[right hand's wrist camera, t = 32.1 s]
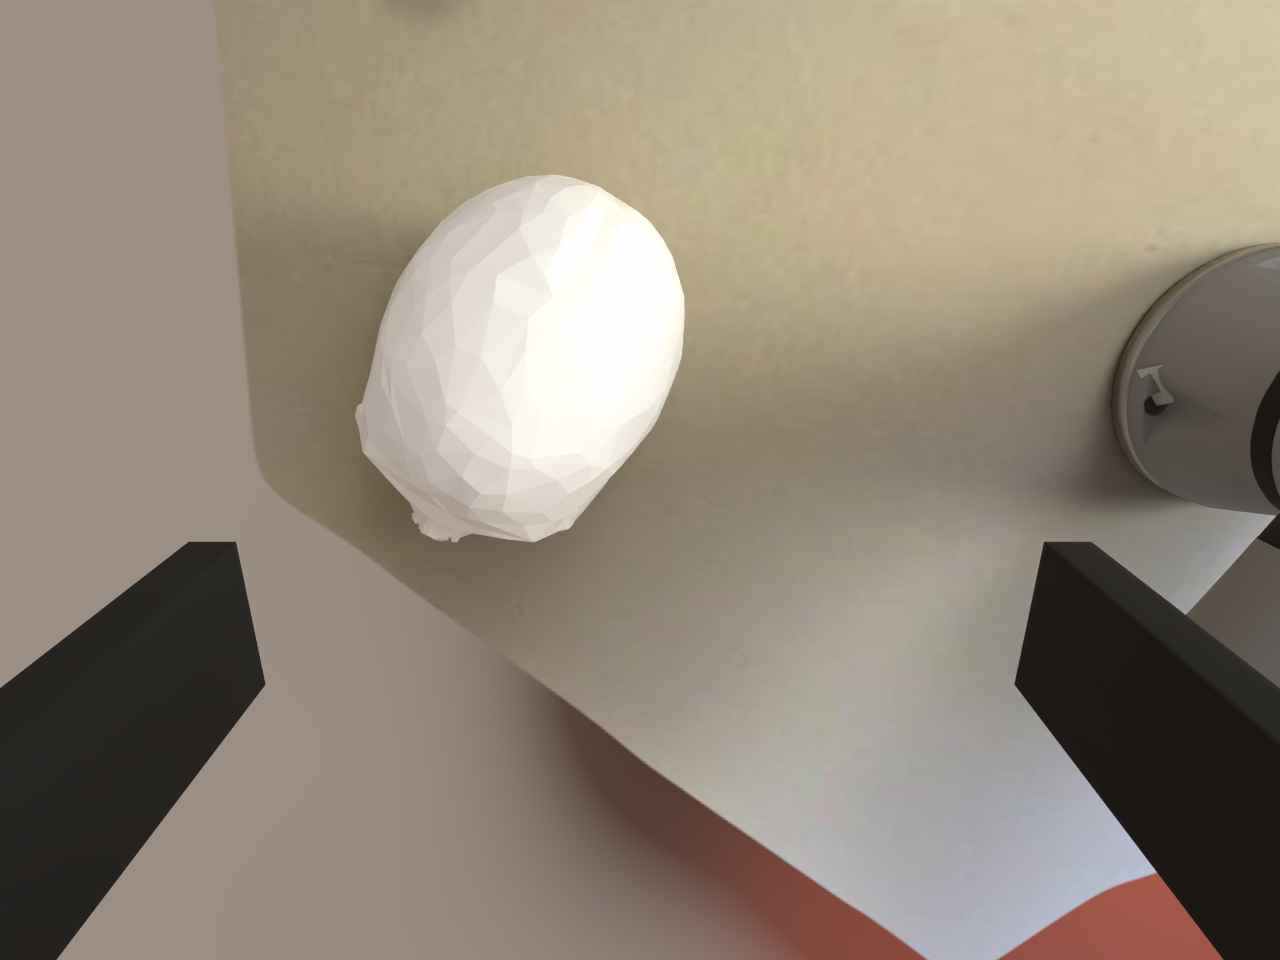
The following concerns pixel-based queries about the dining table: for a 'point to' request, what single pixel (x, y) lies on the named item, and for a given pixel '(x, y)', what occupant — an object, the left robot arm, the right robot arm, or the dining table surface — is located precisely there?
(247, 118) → the dining table surface
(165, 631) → the right robot arm
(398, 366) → the skull
